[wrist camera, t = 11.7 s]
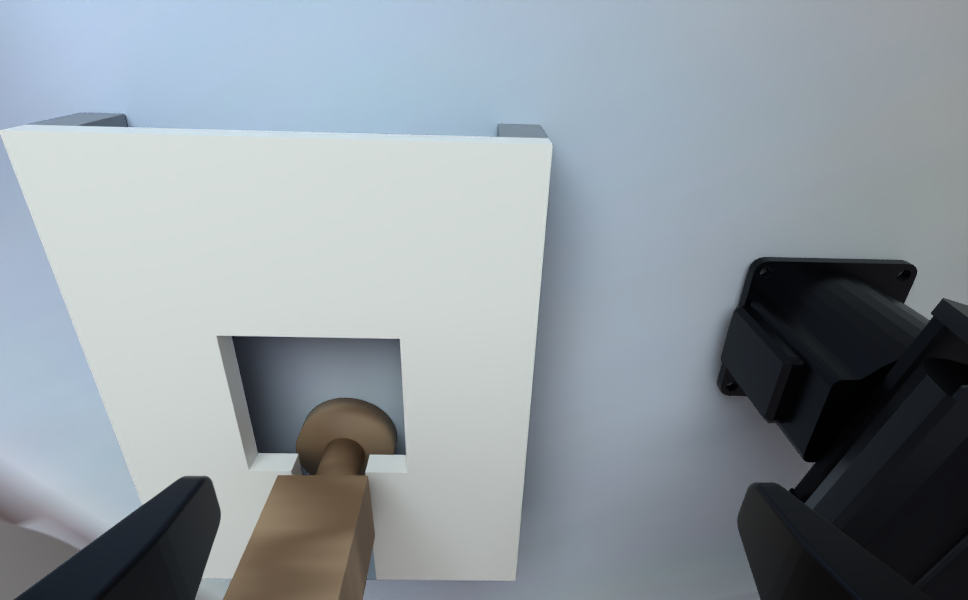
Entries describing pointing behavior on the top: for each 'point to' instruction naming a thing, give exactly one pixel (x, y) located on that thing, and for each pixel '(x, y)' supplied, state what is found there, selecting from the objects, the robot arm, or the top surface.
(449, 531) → the keyhole plate
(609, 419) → the top surface
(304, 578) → the T-peg
